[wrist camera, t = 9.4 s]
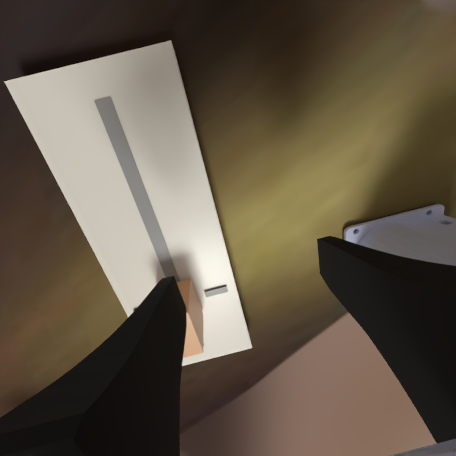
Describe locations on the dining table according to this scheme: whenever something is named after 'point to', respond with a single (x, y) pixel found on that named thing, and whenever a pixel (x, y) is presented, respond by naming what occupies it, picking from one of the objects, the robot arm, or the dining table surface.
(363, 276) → the robot arm
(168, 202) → the panel
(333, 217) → the dining table surface
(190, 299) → the fader tab
